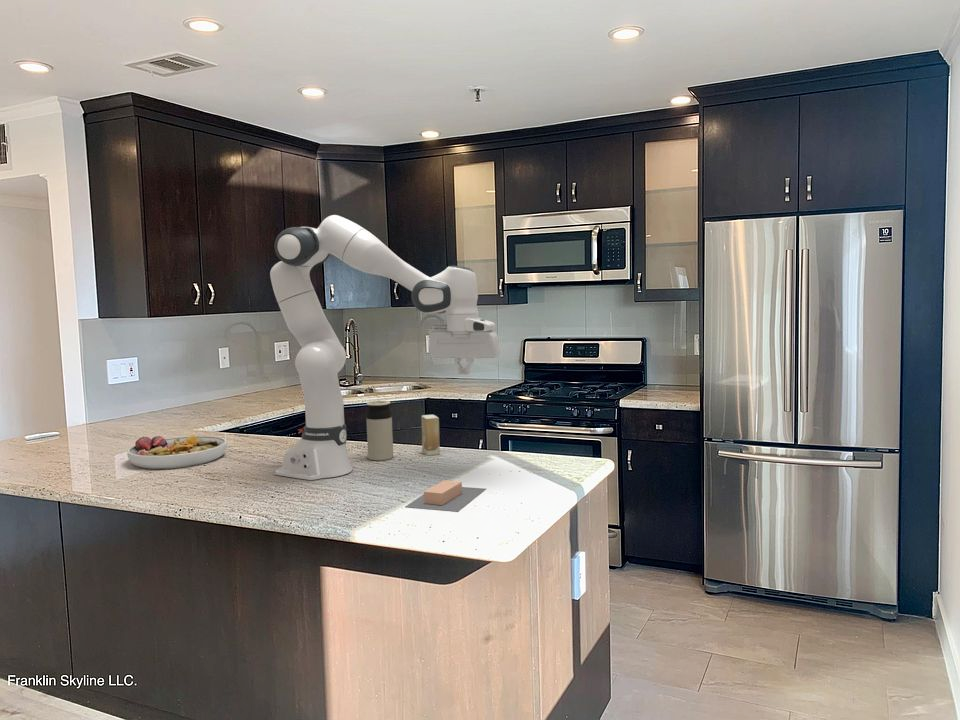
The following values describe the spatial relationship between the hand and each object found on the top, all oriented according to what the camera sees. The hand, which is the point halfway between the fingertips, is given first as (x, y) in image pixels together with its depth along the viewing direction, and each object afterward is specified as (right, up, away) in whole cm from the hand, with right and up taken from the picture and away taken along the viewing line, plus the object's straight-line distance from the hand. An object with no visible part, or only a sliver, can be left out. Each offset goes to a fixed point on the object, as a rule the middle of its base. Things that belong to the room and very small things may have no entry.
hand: (464, 374), depth 198 cm
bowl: (-94, -29, +35) cm, 104 cm away
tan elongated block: (-3, -29, -15) cm, 32 cm away
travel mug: (-27, -28, +28) cm, 48 cm away
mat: (-4, -31, -19) cm, 37 cm away
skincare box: (-12, -27, +33) cm, 44 cm away
